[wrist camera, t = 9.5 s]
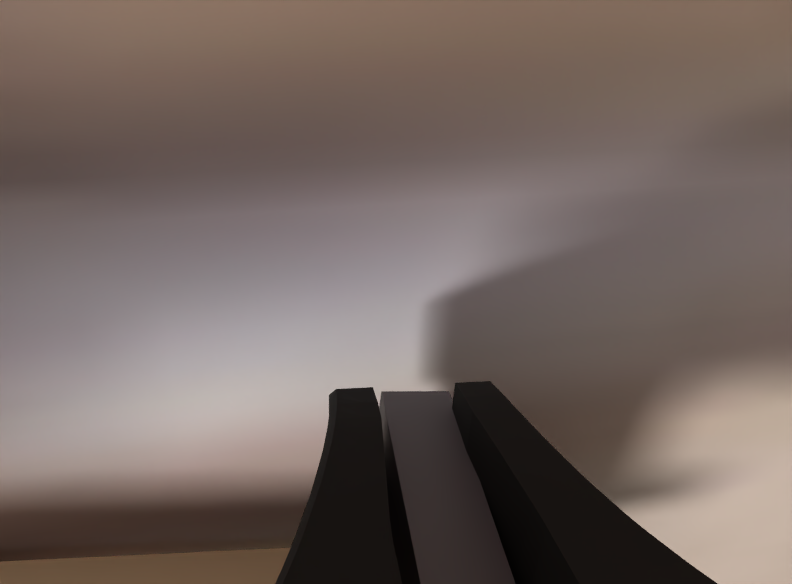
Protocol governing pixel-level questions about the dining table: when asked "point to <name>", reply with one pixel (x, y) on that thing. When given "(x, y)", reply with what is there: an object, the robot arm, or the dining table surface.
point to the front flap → (408, 509)
